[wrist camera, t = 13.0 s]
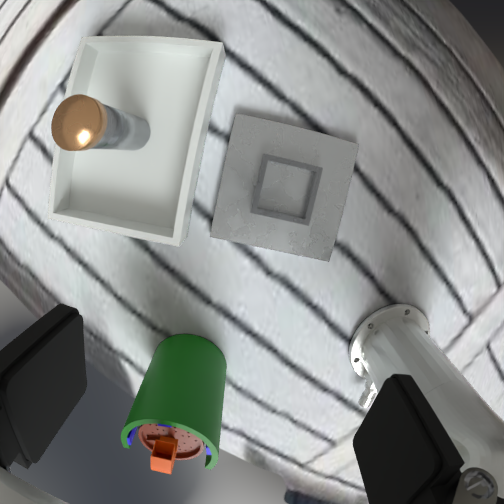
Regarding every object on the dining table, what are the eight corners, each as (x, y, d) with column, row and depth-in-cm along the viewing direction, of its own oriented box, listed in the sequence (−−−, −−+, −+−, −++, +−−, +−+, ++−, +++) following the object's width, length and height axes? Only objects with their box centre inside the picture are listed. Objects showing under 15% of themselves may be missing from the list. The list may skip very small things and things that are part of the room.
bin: (187, 236, 37) (179, 247, 32) (66, 212, 36) (47, 218, 31) (225, 56, 31) (222, 42, 27) (97, 47, 30) (81, 37, 25)
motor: (158, 382, 43) (120, 491, 23) (150, 331, 40) (95, 440, 21) (227, 387, 43) (217, 504, 24) (225, 335, 40) (211, 458, 21)
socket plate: (327, 259, 38) (332, 265, 35) (210, 234, 37) (208, 240, 34) (356, 144, 34) (363, 143, 31) (236, 114, 33) (235, 111, 30)
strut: (155, 116, 32) (104, 95, 19) (148, 154, 33) (92, 153, 20) (121, 113, 32) (57, 93, 19) (113, 149, 33) (47, 148, 20)
